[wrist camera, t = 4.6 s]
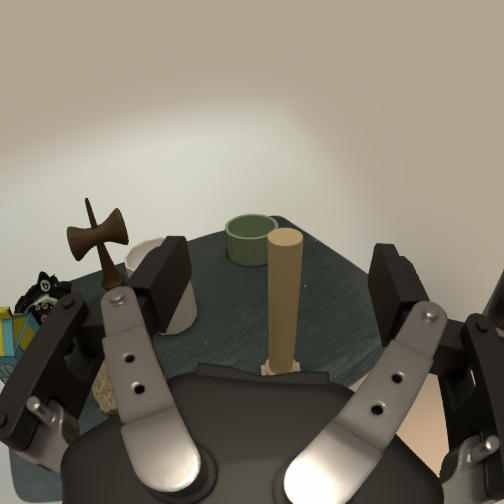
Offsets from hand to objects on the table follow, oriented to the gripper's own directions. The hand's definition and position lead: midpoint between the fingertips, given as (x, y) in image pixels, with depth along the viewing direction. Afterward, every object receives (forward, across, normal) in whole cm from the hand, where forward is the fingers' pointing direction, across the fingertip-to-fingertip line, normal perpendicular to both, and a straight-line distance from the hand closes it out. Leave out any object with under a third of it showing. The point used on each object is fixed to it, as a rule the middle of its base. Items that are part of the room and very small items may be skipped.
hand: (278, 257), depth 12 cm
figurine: (+11, +38, +26) cm, 47 cm away
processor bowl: (+39, +7, +25) cm, 47 cm away
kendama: (+21, +29, +26) cm, 44 cm away
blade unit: (+11, 0, +25) cm, 28 cm away
